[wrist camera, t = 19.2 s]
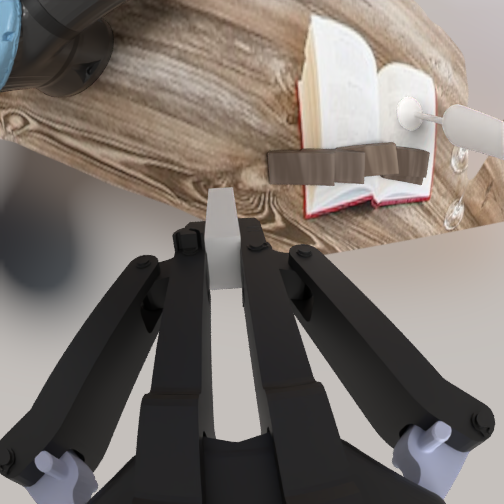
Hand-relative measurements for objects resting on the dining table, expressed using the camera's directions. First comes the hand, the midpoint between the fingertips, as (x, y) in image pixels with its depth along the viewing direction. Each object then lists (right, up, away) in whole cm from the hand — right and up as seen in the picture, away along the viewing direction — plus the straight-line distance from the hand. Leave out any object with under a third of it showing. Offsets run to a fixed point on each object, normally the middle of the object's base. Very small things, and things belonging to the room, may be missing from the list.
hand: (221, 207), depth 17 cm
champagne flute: (+31, +23, +21) cm, 44 cm away
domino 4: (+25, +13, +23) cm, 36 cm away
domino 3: (+16, +12, +24) cm, 32 cm away
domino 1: (+5, +10, +24) cm, 26 cm away
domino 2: (+10, +11, +24) cm, 28 cm away
